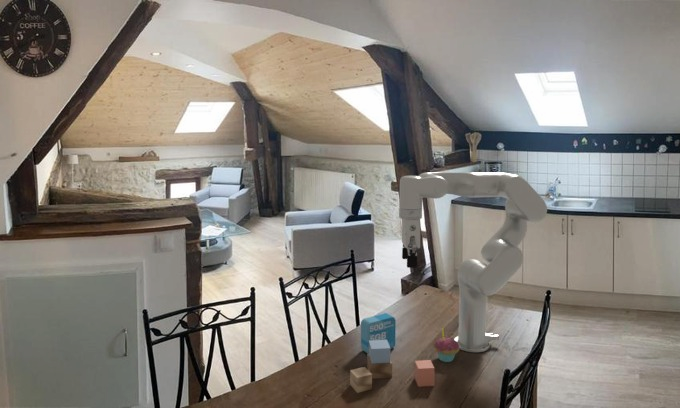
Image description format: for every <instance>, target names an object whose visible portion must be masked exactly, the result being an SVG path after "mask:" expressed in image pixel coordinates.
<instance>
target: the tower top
mask: <svg viewBox="0 0 680 408" xmlns="http://www.w3.org/2000/svg"><path fill="white" fill-rule="evenodd" d="M369 357H370V360H371V364H376V363H390V359H391V349H390V346H389V343H388V341H387V340H369Z"/></svg>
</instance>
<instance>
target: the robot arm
mask: <svg viewBox="0 0 680 408" xmlns="http://www.w3.org/2000/svg"><path fill="white" fill-rule="evenodd" d="M447 194H448V195H454V196H458V197H463V198H471V199H472V198H503V199H506V201H505V203H504V210H505V219H504V222H503V224H502V225H501V227H500V228H499V229H498V230H497V231H496V232H495V233H494V234H493V235H492V236H491V237H490V239H488V240H487V242H485V244H484V245H483V246H482V247H481V250H480V255H481V257H482V259H483V260H484V261H485V262H487V264H486V263H484V262H482V261H480V260H478V259H476V258H475V259H474V258H469V259H465V260H463V261H462V262H461V263H460V265H458V266H459V267H458V269H457V280H458V287H459V299H458V300H459V303H458V304H459V305H458V307H459V310H458V330H457V331H458V334H457V336H455V337H454V339H453V340H455V341H456V342H457V343H458V345H459V350H461V351H465V352H468V353H482V352H485V351H487V350H488V351H489V349H490V346H491V343H490V342H491V341H493V342H494V341H500V336H499V334H493V332H487V313H488V312H487V309H488V308H487V307H488V296H492V295H494V294H496V293H497V292H498V291H500V290H501V289H502V288H503V287H504V286H505V285H506V284H507V283H508V282H509V280H510V279H511V278H512V277H513V276H515V274H517V272H518V271H519V269H520V268H521V267H522V264H523V260H524V254H523V251H522V249H521V248H520V247H519V246H520V244H521V243H522V241H523V240H524V239H525V237H526V234H527V232H528V231H527V230H528V222H530V223H538V222H541V221H542V220H543V219H545V217H546V216H547V213H548V205H547V203H546V202H545V199H544V198H543V197H542V196H541V195H540V194H539V193H538V192H537V191H536V189H534V188H533V187H532V185H531V184H530V183H529V182H528V181H527V180H526V179H525V178H523V177H522V176H520V175H518V174H513V173H508V172H501V171H500V172H498V171H497V172H496V171H494V172H492V171H491V172H443V171H442V172H438V171H437V172H423V173H420V174H419V175H403V176H401V177H400V180H399V200H398V201H399V202H398V203H399V205H398V206H399V208H398V210H399V211H398V214H399V215H398V218H400V219H401V242H402V248H401V249H402V250H401V251H402V253H401V257H402V258H401V259H403V260H406V267H407V268H408V269H410V268H413V269H414V268H415V269H416V268H418V267H417V266H418V252H417V249H420V248H421V223H420V222H421V221H420V220H421V219H423V198H426V199H441V198H443V197H444V196H446V195H447Z"/></svg>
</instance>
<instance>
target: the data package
mask: <svg viewBox="0 0 680 408" xmlns="http://www.w3.org/2000/svg"><path fill="white" fill-rule="evenodd" d="M396 321H397V320H396V318H395V316H393V315H390V314H389V313H386V312H384V313H380V314H377V315H372V316H369V317H365V318H363V319H362V320H361V321H360V348H361V350H362V351H363V352H365V353H366V354H369V340H387V341H388V343H389V346H390V350H392V349H393V348H395V347H396V327H397V326H396Z"/></svg>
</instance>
